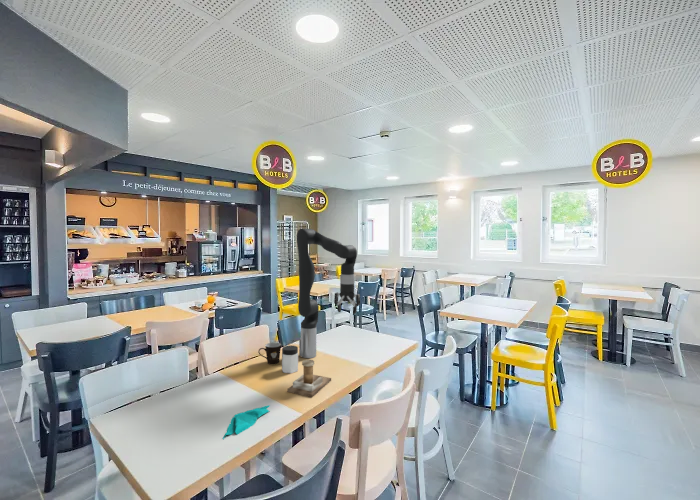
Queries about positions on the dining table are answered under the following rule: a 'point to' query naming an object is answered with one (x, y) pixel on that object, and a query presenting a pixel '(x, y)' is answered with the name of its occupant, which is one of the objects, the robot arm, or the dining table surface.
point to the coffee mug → (272, 352)
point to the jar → (289, 359)
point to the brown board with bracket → (308, 385)
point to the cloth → (245, 420)
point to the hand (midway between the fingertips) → (347, 312)
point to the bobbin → (308, 371)
